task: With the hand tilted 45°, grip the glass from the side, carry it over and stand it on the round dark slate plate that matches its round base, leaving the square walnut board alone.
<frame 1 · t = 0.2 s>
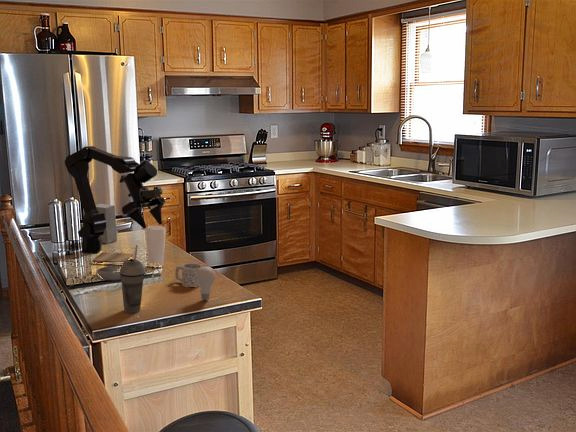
hand: (153, 226, 221), 15 cm above the countertop, tool tilted 30°, fingers open, 9 cm apart
mug: (187, 284, 203), on the countertop
drinking glass: (155, 267, 221), on the countertop
lightbulb: (205, 301, 187), on the countertop
beverage cup: (132, 311, 175), on the countertop
square walnut board: (113, 260, 226), on the countertop
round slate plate: (116, 275, 208), on the countertop
skincare box: (103, 241, 254), on the countertop
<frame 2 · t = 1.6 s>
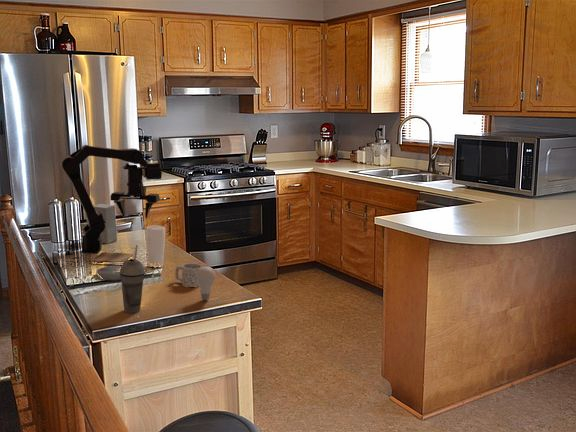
hand: (135, 217, 243), 13 cm above the countertop, tool pointing down, fingers open, 9 cm apart
nothing on the countertop moved.
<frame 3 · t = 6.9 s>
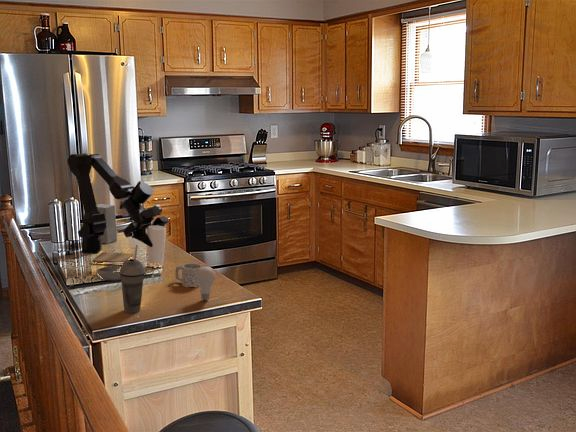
hand: (158, 244, 219), 9 cm above the countertop, tool tilted 45°, fingers closed on drinking glass, 6 cm apart
drinking glass: (155, 267, 221), on the countertop, touching gripper
everything else where it was.
when the fingers open (11 cm above the countertop, at t = 11.1 s): drinking glass stays where it is, resting on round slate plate.
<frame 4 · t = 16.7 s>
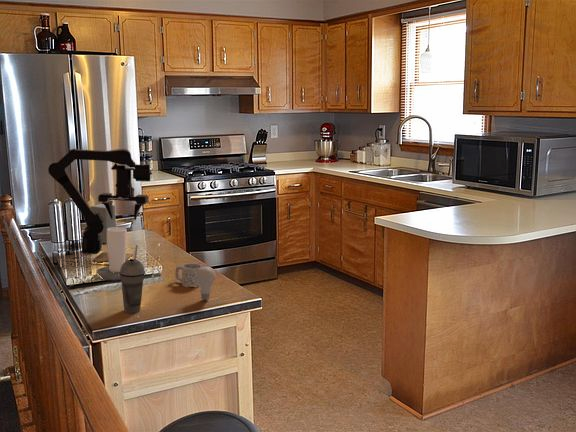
hand: (123, 219, 238), 13 cm above the countertop, tool pointing down, fingers open, 9 cm apart
drinking glass: (116, 271, 208), point 1 cm above the countertop, touching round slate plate
everything else where it was.
at the end: drinking glass inside the target area on the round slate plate (0.2 cm from its centre), point 1.3 cm above the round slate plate's base; drinking glass tilted 0°; the gripper is holding nothing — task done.
